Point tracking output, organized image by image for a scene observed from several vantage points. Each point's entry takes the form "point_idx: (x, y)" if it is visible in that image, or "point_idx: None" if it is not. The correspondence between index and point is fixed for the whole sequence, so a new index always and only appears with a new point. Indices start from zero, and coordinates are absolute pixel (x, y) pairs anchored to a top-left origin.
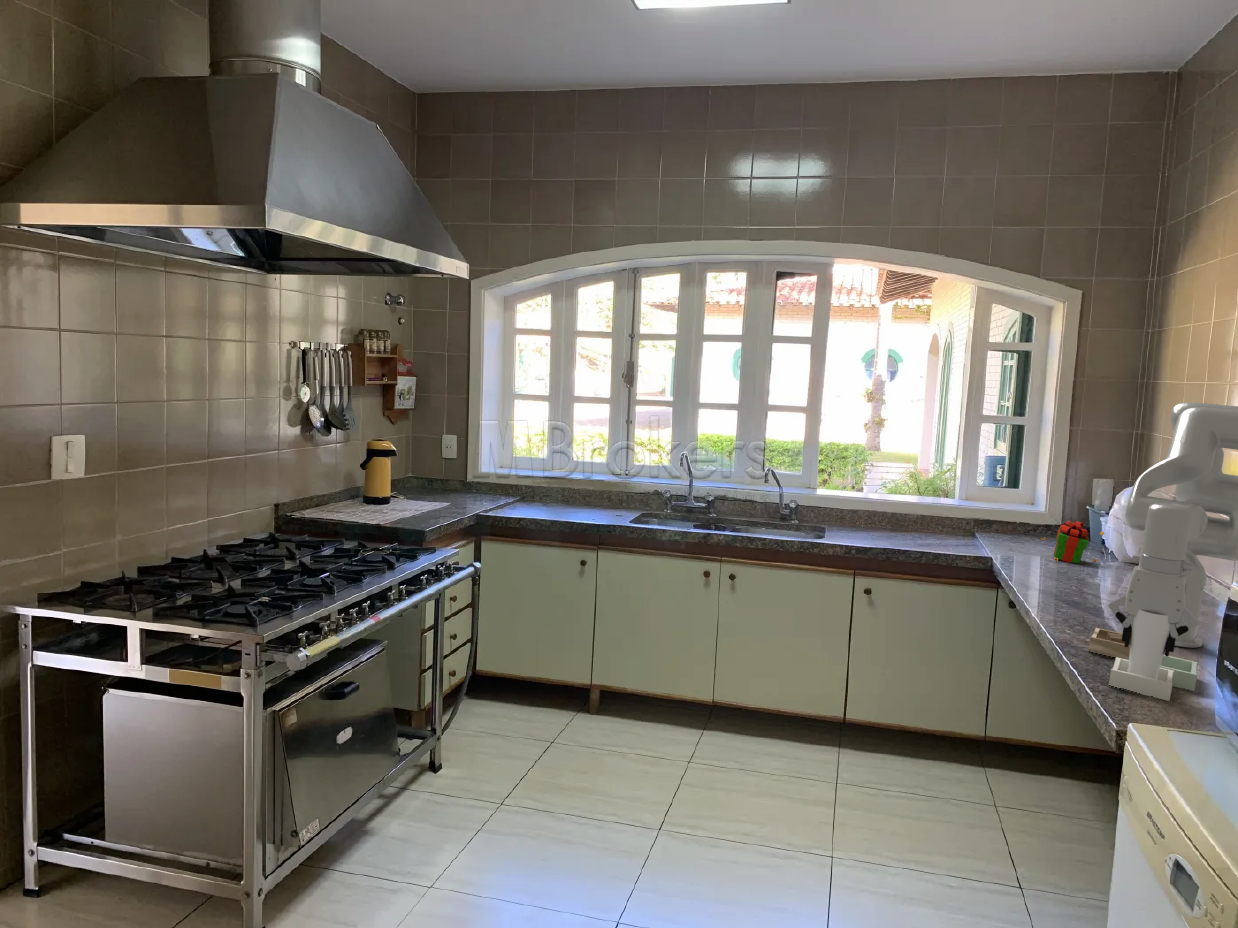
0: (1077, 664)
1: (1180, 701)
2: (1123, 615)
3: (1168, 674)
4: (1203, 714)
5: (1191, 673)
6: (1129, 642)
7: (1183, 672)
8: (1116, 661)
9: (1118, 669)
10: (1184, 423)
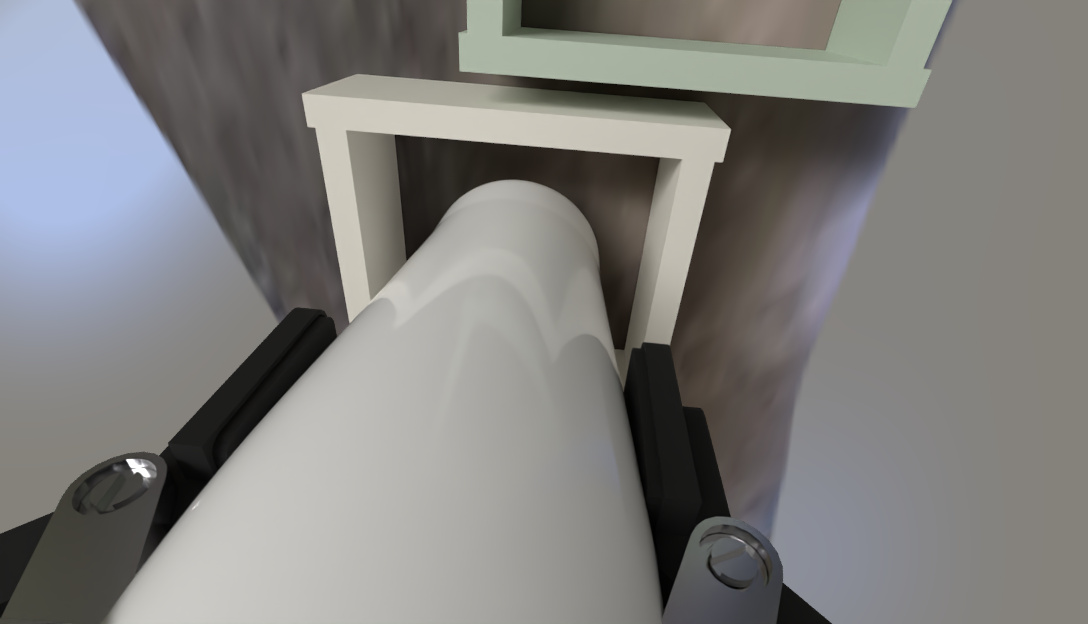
0: (147, 65)
1: (700, 337)
2: (1, 615)
3: (664, 265)
4: (763, 432)
5: (874, 94)
6: (327, 328)
7: (808, 98)
8: (338, 217)
9: (379, 203)
10: None
